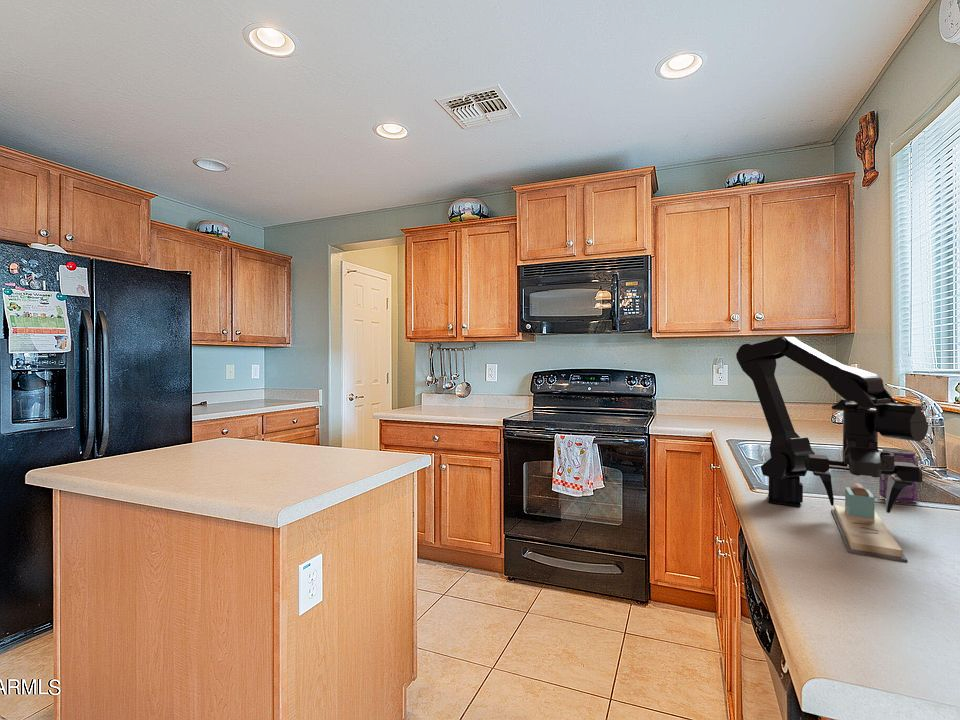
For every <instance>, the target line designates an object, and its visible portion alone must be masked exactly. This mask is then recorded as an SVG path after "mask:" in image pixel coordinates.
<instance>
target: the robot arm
mask: <svg viewBox="0 0 960 720" xmlns="http://www.w3.org/2000/svg"><path fill="white" fill-rule="evenodd" d="M735 357H736V360H737V362H738V364H739V366H740V368H741V370H742V371H743V373H745V374H746V375H747V376H748V377H749V378H750V379H751V381H752V383H753V386H754V390H755V391H756V394H757V397H758V401H759V403H760V405H761V410H762V412H763V414H764V417H765V421H766V423H767V427H768V430H769V432H770V435H771V439H770V444H769V449H768V450H769V454H770V458H769V459H767V460H766V462H764V463H763V464H762V465H760V469H761V474H762V475H763V476H765V477H768V494H767V502H768V503H771V504H778V505H785V506H793V507H801V506H802V505H801V504H803V503H804V501H803V500H804V499H803V498H804V497H803V495H804V485H803V483H802V482H801V478H800V477H806V475H807V472H812V474H813V476H816V477H819V478H820V480H821V483H822V484H823V487H824V489H825V492H826V495H827V498H828V501H829V502H830V506H832V507H834V505H835V504H834V503H835V502H834V500H835V498H834V491H833V484H832V475H831V473H830V470H839V471H849V473H850V474H851V475H853V476H855V477H856V476H859V477H860V476H867V477H871V478H880V477H881V474H890V475H892V476H890V475H888V484H887V494H886V499H885V512H886V513H887V514H889V513H891V511H892V508H893V506H894V504H895V500H896V498H897V496H898V495H899V493H900V492H901V490H902V489H903V488H904V487H906V486H907V485H910V486H912V485H913V482H918V483H923V469H921V468H920V467H919V466H918V467H917V466H916V465H915V464H913V463H907V462H895V461H894V454H893V453H891V452H883V451H879V449H878V445H879V444H878V443H879V442H878V441H879V436H878V433H879V435H880V436H882V437H883V438H890V439H897V440H898V439H899V440H904V441H905V440H906V441H912V442H921V441H923V440H924V439H925V438H926V436H927V434H928V431H929V422H928V421H927V417H926V415H925V413H924V412H922V406H921V405H920V404H899V403H898V402H897V401H895V399H894V398H893V396H892V395H891V394H890V393H889V392H888V390H887V389H886V388H885V387H884V379H882V378H881V376H879V375H878V374H876V373H873V372H871V371H867V370H864V369H861V368H859V367H858V368H857V367H854V366H848V365H846V364H843V363H841V362H839V361H837V360H835V359H833V358H831V357H829V356H828V355H826V354H824V353H822V352H820V351H818V350H817V349H815V348H812V346H809V345H807V344H805V343H803V342H802V341H800V340H799V339H798V338H796V337H795V336H778V337H776V338H772V339H770V340H765V341H761V342H755V343H743V344H741V345H740V346H739V348H738V350H737V352H736V354H735ZM784 357H786V358H787V359H790V360H791V361H793V362H795V363H796V364H799V366H802V367H803V368H805V369H807V370H809V371H810V372H812V373H814V374H815V375H817V376H818V377H821V378H822V379H824V381H825V382H827V384H828V385H829V387H830V388H831V389H832V390H833V391H834V392H836V394H838V395H839V396H840V397H841V399H840V400H839V401H838V402H836V403H835V404H834V405H833V406H831V409H832V410H835V411H842V460H835V459H829V457H828V456H827V455H825V454H824V455H822V454H816V453H815V452H814V451H813V449H812V446H811V443H810V439H809V438H808V437H806V436H804V437H801V436H799V434H798V433H797V432H796V431H795V427H794V426H793V424H792V423H793V422H792V421H791V417H790V415H789V413H788V409H787V407H786V403H785V401H784V398H783V396H782V393H781V390H780V387H779V384H778V382H777V378H776V375H775V374H776V368H777V360H779V359H782V358H784Z"/></svg>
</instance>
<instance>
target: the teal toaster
mask: <svg viewBox="0 0 960 720" xmlns="http://www.w3.org/2000/svg"><path fill="white" fill-rule="evenodd" d="M844 494H845V495H844V497H845V498H844V507H845V511H846V513H847V515H848V517H849V519H850V520H858V521H865V522H872V523H875V520H874V518H875V512H876V511H875V508H876V507H875V505H876V504H875V501H876V497H875V496H874V494H873V493H872V492H871V490H870V489H867V488H865V487H864V485H862V484H860V483H852V484H851V485H850V487H846V486H845V488H844Z"/></svg>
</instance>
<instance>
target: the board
mask: <svg viewBox="0 0 960 720" xmlns="http://www.w3.org/2000/svg"><path fill="white" fill-rule="evenodd" d="M833 507H834V508H831V511H832V512H831V514H832V516H833V519H834V518H835V519H834V521H835V523H837V524H836V526H837V529H838V530H840V531H839V533H840V535H841V538H842V541H843V542H844V544H845V547H846V549H847V552H848V553H850V554H855V555H862V556H865V557H866V556H868V557H872V558H880V559H884V560H885V559H886V560H890V561H891V560H893V561H897V562H904V563H908V558H907V557H906V555H905V554H904V553H903V548H901V546H900V544H899V543H898V541H897V540H896V539H895V538H894V536H893V535H892V533H891V532H890V531H889V529H888V527H887V526H886V525H885V524H884V522H883V521H882V519H881V518H880V516H879V515H878V514H877V512H876V511H875V518H874V520H875V523H872V522H865V521H858V520H850V519H849V517H848V515H847V513H846V511H845V505H836V504H834V505H833Z"/></svg>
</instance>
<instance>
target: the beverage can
mask: <svg viewBox="0 0 960 720" xmlns="http://www.w3.org/2000/svg"><path fill="white" fill-rule="evenodd" d="M881 452H891V453H893V454H894V461H895V462H907V463H913V464H915V465H916V466H917V467H919V460H918V457H917V455H916V451H913V450H910V449H903V448H894V447H891V448H889V447H886V448H882V450H881ZM888 475H890V474H881V477H879V479H878V480H879V488H878V490H879V491H878V494H879V495H880V496H881V497H882V498H883V499H884V500H886V494H887V484H888ZM890 476H892V475H890ZM918 500H919V482H913V485H912V486H910V485H907V486H906V487H904V488H903V489H902V490H901V492H900V493H899V495H898V496H897V498H896V500H895V501H898V502H897V503H900V502H911V503H913V502H918Z"/></svg>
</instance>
